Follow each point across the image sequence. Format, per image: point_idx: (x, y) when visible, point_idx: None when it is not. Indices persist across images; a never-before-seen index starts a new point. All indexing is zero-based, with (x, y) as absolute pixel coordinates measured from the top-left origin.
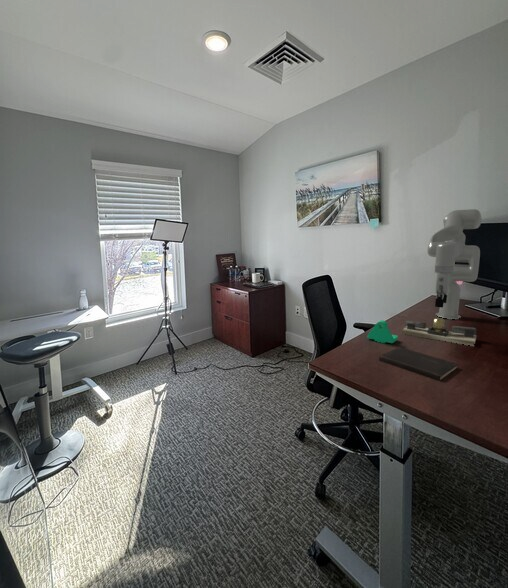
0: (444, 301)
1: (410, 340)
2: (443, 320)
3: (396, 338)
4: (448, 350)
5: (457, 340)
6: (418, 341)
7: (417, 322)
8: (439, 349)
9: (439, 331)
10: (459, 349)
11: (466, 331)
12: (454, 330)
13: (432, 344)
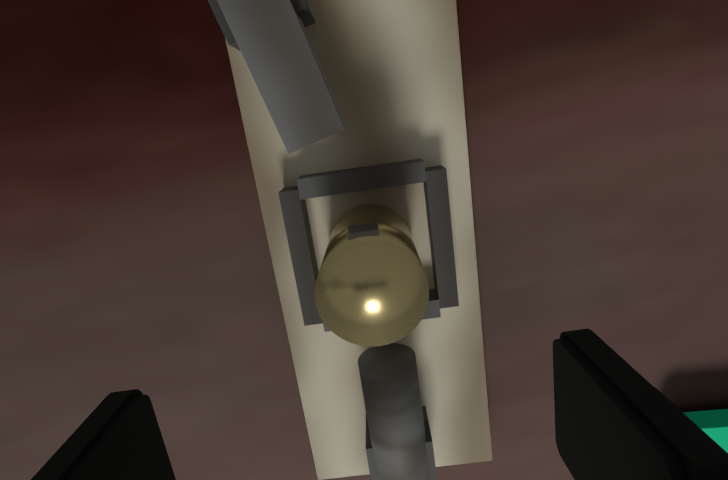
0: (140, 433)
1: None
2: (391, 241)
3: (718, 420)
4: (673, 66)
5: (457, 56)
6: (586, 300)
7: (409, 434)
8: (688, 127)
9: (408, 229)
10: (596, 2)
11: (306, 5)
12: (341, 118)
13: (596, 203)
